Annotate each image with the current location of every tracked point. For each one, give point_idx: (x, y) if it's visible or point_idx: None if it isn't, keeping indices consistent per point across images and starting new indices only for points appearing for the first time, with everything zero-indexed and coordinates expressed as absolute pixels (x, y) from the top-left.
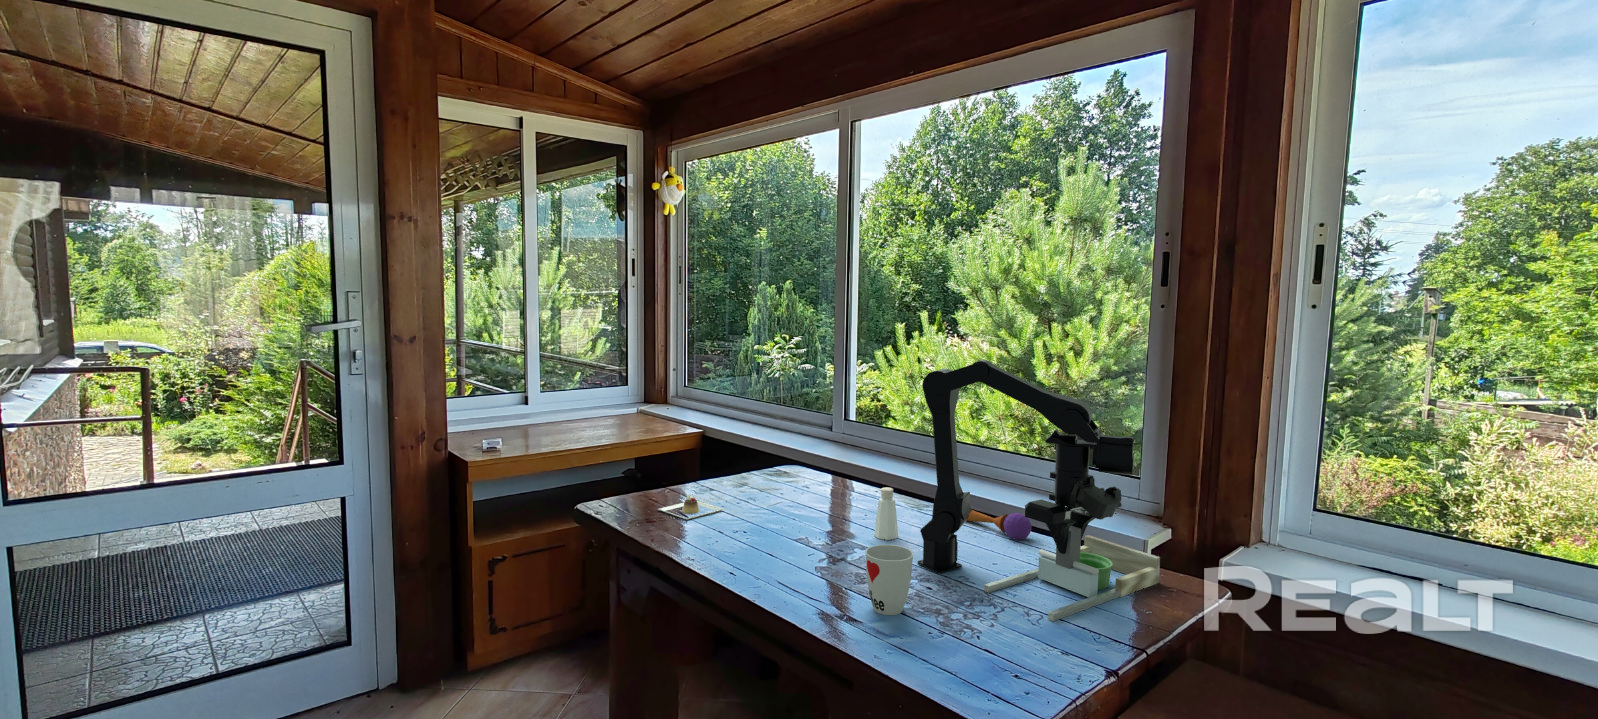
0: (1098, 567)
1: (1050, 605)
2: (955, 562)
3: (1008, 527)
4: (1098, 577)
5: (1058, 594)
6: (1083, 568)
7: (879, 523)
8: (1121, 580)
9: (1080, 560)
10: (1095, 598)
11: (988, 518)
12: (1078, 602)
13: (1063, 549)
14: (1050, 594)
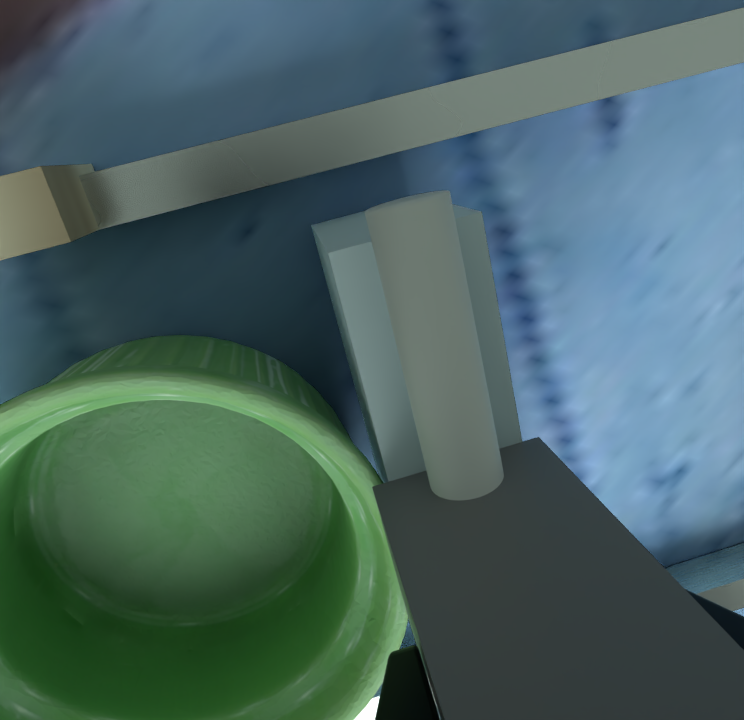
0: (3, 590)
1: (740, 210)
2: None
3: None
4: (205, 358)
5: (547, 357)
6: (476, 343)
7: None
8: (39, 175)
9: (117, 706)
10: (456, 88)
11: None
12: (651, 71)
13: (706, 606)
14: (598, 372)
